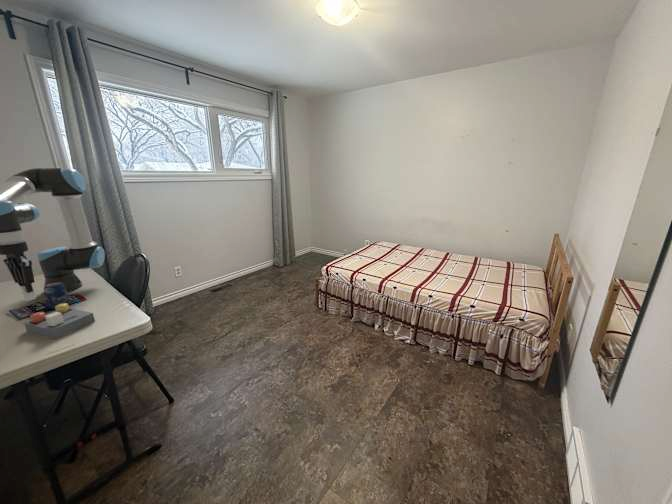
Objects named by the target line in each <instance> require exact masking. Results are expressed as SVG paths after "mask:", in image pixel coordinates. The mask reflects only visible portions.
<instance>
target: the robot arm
mask: <svg viewBox="0 0 672 504" xmlns="http://www.w3.org/2000/svg"><path fill="white" fill-rule="evenodd" d="M86 184H87V183H86V181H85V179H84V177H83V175H82V174H81V173H80V172H79V171H77V170H76V169H74V168H67V167H61V168H60V167H55V168H53V167H52V168H50V167H49V168H48V167H47V168H42V167H37V168H30V169H26V170H23V171H20V172H17V173H16V174H13V175H11V176H10V177H7V179H6V181H5V183H3V184H2V185H0V255H1V256H5V258H4V259H3V263H4V264H5V265H6V267H7V270H8V272H9V274H10V275H11V278H12V279H13V281H14V283H15V284H17V285H19V287H20V290H21V293H22V295H23V299H24V301H26V302H29V301H32V300H35V299H37V295H36V292H35V290H34V287H33V284H34V283H35V277H34V271H33V267H32V266H33V265H32V264H33V262H32V260H30V259H29V260H28V258H27V256H26V255H25V252H28V250H29V247H28V244H27V241H25V240H26V237H25V234H24V232H23V229H22V227H21V225H22V224H25V223H31V222H33V221H36V220H37V219H38V218H39V217H40V210H39V209H38V208H37V206H35V205H34V204H31V203H27V202H24V203H23V202H22V203H21V202H20V203H19V201H21V199H23V198H24V197H27V196H28V197H29V196H31V195H33V194H36V193H51V196H52V197H53V198H55V199H56V200H57V201H58V204H59V205H58V206H59V207H60V211H61V213H62V214H61V215H62V218H63V221H64V223H65V227H66V230H67V233H68V236H69V239H70V242H71V244H70V245H69V246H68V248H67V246H58V247H53V248H47V249H46V250H42V251H40V252H38V253H37V261H38V262H39V265H40V266H39V267H40V268H41V271H42V274H43V277H44V284H43V289H44V288H45V285H46V284H49V283H53V282H62V283H63V284H64V285H65V288H66V291H67V293H68V292H72V291H74V290H78V289H80V288H81V287H82V286H83V282H82V280H81V279H80V278H79V276H78V275H77V274H76V273H75V271H77V270H86V269H87V270H88V269H89V270H90V269H95V268H100V267H102V265H103V264H104V261H105V257H106V256H105V255H106V253H105V250H104V248H103V247H102V246H98V242H96V241H93V239H92V234H91V230H90V228H89V223H88V220H87V217H86V213H85V210H84V207H83V203H82V198H81V197H82V196H83V195H84V194H83V192H85V191H86V189H87V185H86ZM43 291H44V290H43ZM44 293H45V291H44Z"/></svg>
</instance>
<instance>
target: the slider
mask: <svg viewBox="0 0 672 504" xmlns="http://www.w3.org/2000/svg"><path fill="white" fill-rule="evenodd" d="M45 318H46V321H47V323H48V325H50V326H55V325H58V324H60V323H63V322H64V319H63V316H62V313H59V312H55V313H52V314H49V315H47V316H45Z"/></svg>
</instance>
